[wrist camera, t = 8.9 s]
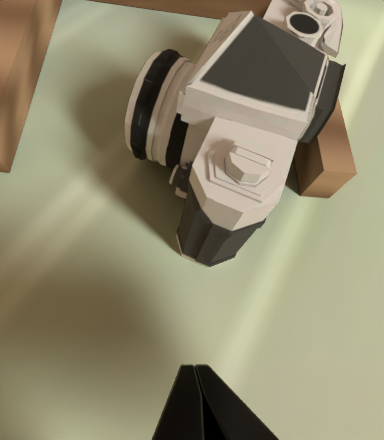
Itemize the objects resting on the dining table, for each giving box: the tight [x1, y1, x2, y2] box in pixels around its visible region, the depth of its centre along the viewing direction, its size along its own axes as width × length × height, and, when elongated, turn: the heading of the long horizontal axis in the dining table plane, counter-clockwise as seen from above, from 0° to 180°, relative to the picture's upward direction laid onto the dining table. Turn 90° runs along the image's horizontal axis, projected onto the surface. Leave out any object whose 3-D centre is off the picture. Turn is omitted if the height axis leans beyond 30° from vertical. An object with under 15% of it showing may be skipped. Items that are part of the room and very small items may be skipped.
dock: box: [0, 0, 357, 198], centre depth 22 cm, size 19×22×3 cm
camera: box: [124, 0, 346, 267], centre depth 16 cm, size 16×9×10 cm, turn 158°
